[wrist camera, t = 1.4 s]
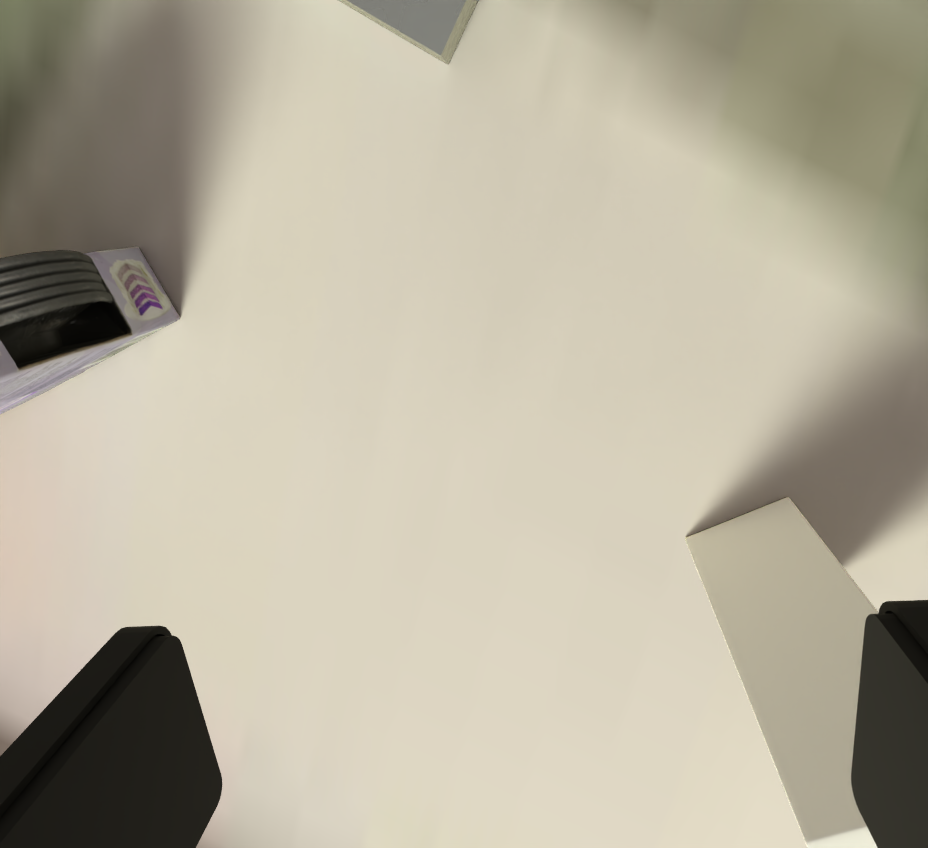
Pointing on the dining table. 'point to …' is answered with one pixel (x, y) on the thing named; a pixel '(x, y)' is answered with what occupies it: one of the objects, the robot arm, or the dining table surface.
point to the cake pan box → (72, 315)
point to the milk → (793, 656)
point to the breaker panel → (421, 21)
